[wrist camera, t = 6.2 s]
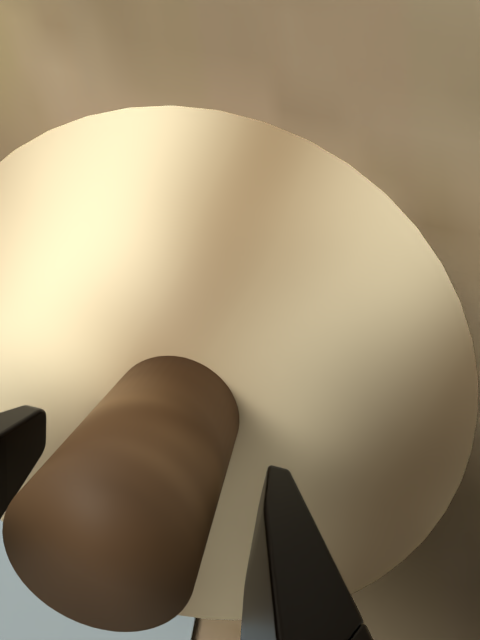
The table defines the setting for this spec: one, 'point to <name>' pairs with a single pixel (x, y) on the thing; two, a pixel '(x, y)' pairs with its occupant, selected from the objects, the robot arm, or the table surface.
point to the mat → (62, 616)
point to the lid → (217, 361)
